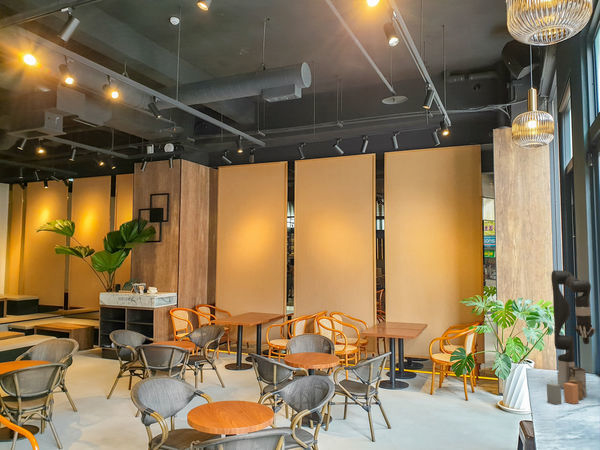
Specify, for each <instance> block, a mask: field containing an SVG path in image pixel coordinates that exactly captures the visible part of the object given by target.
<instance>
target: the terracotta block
mask: <svg viewBox="0 0 600 450" xmlns="http://www.w3.org/2000/svg"><path fill="white" fill-rule="evenodd" d="M563 393H564V394H563V395H564V398H563V399H564V402H565V403H569V404H571V405H576V404H579V401H580V400H579V399H578V385H577V384H573V383H564V389H563Z"/></svg>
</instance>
